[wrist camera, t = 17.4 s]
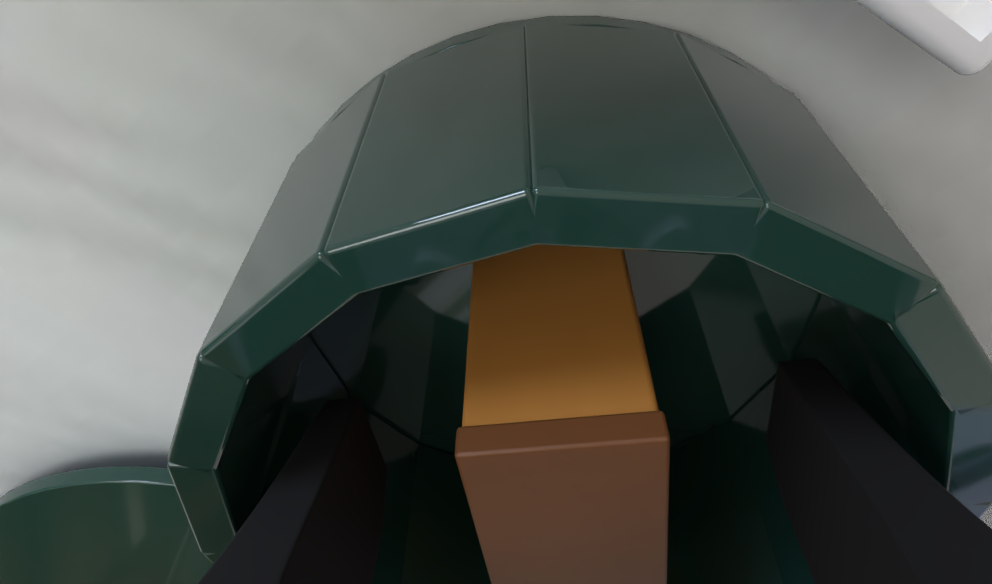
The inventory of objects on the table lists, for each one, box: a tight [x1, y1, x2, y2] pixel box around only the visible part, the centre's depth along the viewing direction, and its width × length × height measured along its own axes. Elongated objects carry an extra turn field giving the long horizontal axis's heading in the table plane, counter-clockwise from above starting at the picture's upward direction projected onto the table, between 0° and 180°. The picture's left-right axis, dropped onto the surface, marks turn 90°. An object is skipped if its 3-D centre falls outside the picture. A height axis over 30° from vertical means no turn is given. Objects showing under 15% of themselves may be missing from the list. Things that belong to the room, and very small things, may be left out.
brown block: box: [455, 245, 670, 584], centre depth 12 cm, size 5×3×6 cm, turn 8°
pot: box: [167, 16, 992, 584], centre depth 13 cm, size 12×12×6 cm
